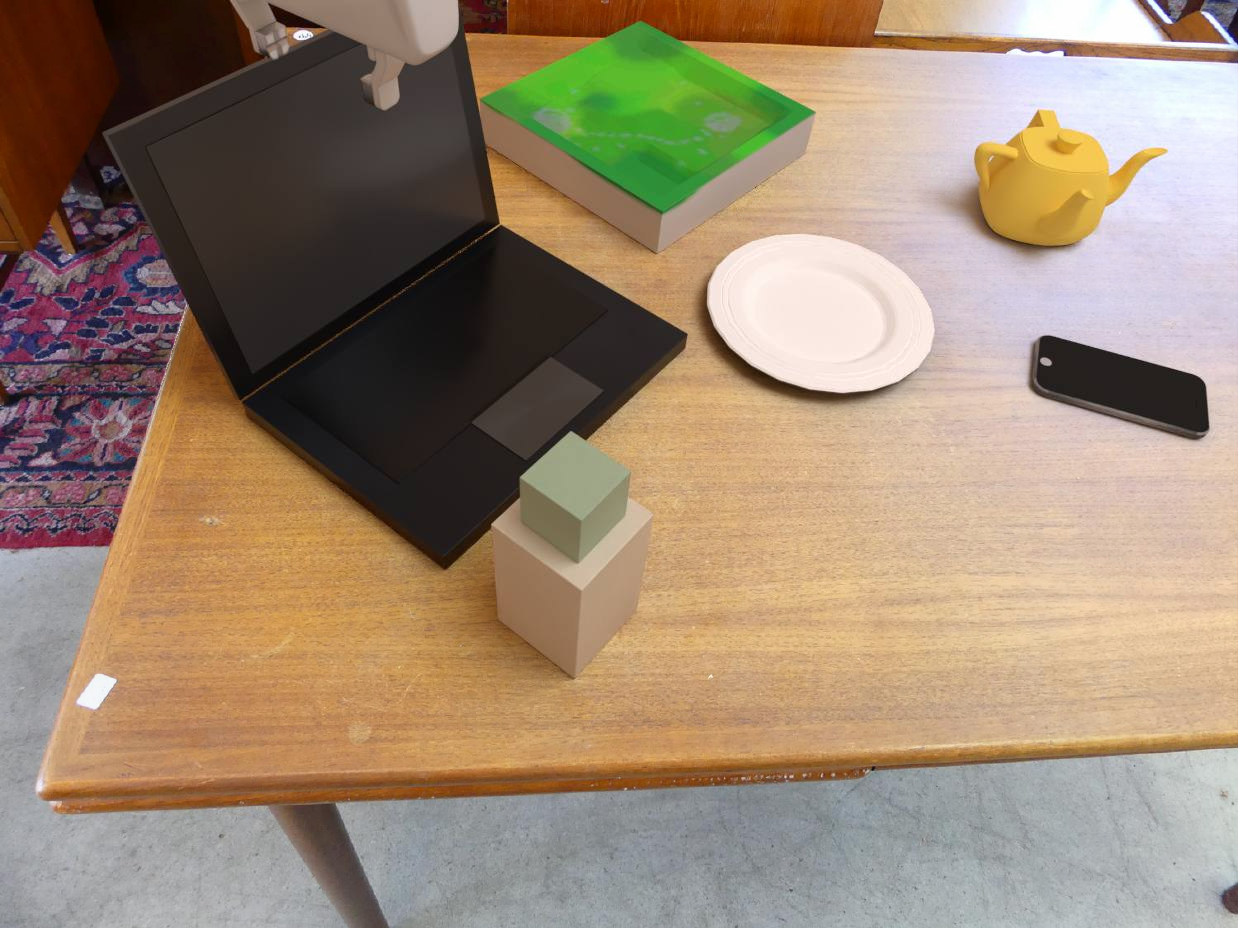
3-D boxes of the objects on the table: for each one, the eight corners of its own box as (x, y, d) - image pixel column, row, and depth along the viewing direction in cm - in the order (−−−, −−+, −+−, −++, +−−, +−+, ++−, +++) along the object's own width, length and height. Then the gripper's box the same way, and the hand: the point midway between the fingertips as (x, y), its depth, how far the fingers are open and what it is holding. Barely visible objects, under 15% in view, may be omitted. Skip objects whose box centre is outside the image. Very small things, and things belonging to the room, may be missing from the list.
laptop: (685, 348, 81) (688, 332, 80) (445, 570, 66) (443, 556, 64) (501, 239, 89) (501, 223, 87) (246, 416, 73) (240, 400, 72)
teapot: (1047, 279, 91) (1095, 195, 83) (940, 209, 97) (976, 124, 89) (1120, 228, 97) (1172, 145, 89) (1015, 165, 103) (1055, 82, 95)
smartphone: (1038, 330, 85) (1206, 376, 83) (1035, 336, 85) (1202, 381, 83) (1033, 387, 80) (1211, 437, 78) (1029, 393, 81) (1206, 443, 79)
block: (578, 564, 53) (581, 520, 50) (520, 521, 55) (519, 477, 51) (625, 515, 55) (631, 470, 52) (568, 476, 57) (570, 430, 53)
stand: (574, 679, 62) (581, 590, 52) (497, 619, 64) (490, 523, 54) (637, 608, 65) (654, 513, 56) (562, 554, 67) (566, 454, 58)
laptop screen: (455, -24, 71) (447, -26, 72) (109, 136, 56) (101, 132, 56) (501, 224, 87) (494, 221, 88) (240, 401, 72) (234, 397, 72)
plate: (659, 289, 86) (662, 274, 84) (827, 224, 94) (832, 209, 92) (800, 440, 76) (805, 425, 74) (975, 353, 84) (983, 338, 82)
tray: (637, 62, 110) (640, 21, 106) (805, 153, 101) (816, 112, 97) (482, 141, 98) (479, 98, 94) (657, 253, 89) (662, 211, 85)
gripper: (97, -204, 50) (174, 43, 61) (386, -96, 44) (415, 156, 55) (188, -230, 53) (246, 9, 64) (468, -132, 48) (480, 111, 59)
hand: (326, 78), depth 60 cm, fingers open, 8 cm apart
